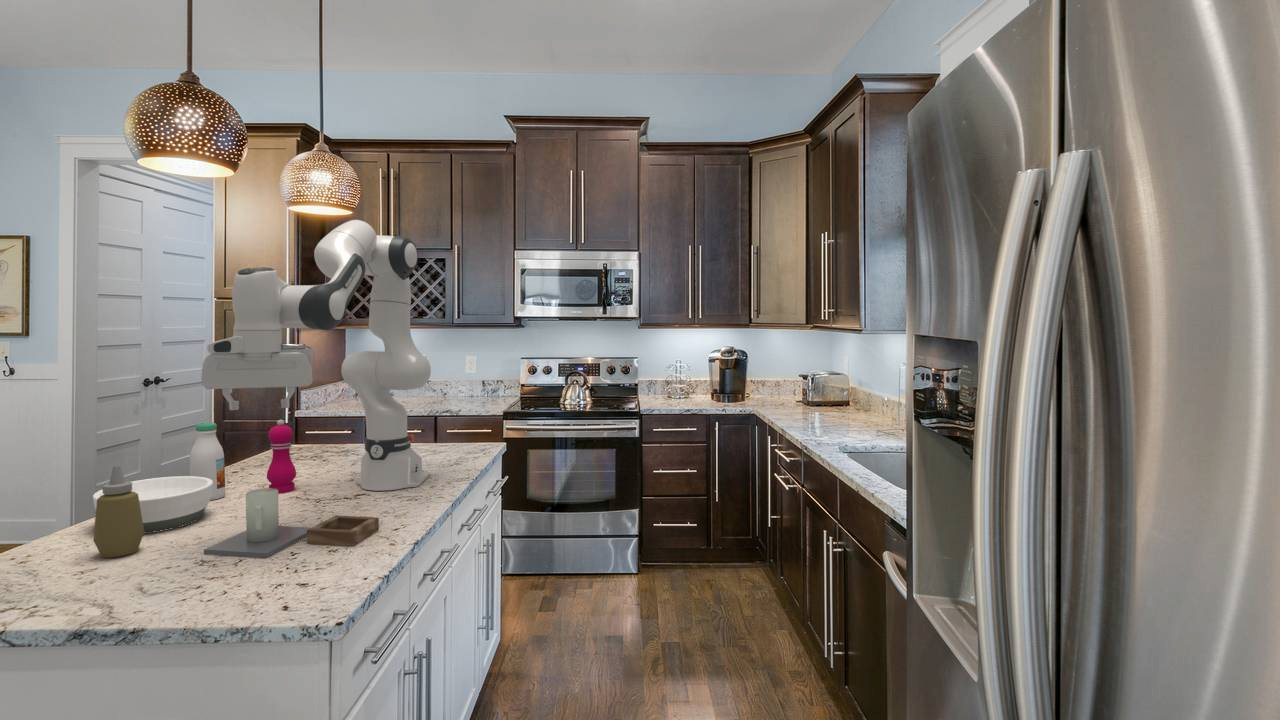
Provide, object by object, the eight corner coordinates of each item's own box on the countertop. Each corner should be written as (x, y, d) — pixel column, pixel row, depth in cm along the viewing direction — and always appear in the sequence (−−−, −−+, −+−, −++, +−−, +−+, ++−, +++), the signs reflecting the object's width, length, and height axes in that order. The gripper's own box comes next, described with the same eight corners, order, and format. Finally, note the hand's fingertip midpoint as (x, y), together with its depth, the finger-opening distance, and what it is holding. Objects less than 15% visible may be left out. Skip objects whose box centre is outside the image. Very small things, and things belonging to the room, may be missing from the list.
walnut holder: (336, 528, 147) (335, 515, 147) (378, 530, 146) (378, 517, 146) (307, 543, 137) (306, 530, 137) (352, 546, 136) (352, 532, 136)
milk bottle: (208, 502, 166) (205, 426, 165) (183, 500, 168) (180, 425, 166) (232, 495, 174) (230, 422, 172) (208, 493, 175) (206, 421, 174)
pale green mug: (249, 535, 139) (248, 489, 138) (280, 531, 141) (279, 487, 141) (242, 547, 131) (240, 499, 131) (275, 544, 133) (274, 497, 133)
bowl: (71, 542, 136) (70, 504, 136) (123, 511, 158) (122, 478, 157) (193, 533, 143) (192, 497, 142) (227, 505, 164) (226, 473, 164)
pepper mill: (287, 494, 175) (285, 421, 174) (261, 493, 175) (259, 421, 174) (301, 487, 182) (300, 417, 181) (276, 486, 182) (275, 417, 181)
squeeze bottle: (102, 549, 132) (99, 463, 131) (150, 544, 136) (147, 460, 134) (87, 563, 125) (83, 472, 124) (137, 557, 128) (134, 469, 127)
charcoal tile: (259, 528, 146) (259, 524, 146) (316, 532, 144) (316, 527, 144) (203, 554, 130) (203, 549, 130) (266, 558, 129) (266, 553, 129)
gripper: (314, 343, 142) (315, 404, 143) (205, 343, 134) (207, 408, 135) (312, 344, 136) (313, 408, 137) (198, 344, 128) (200, 413, 129)
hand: (260, 408), depth 136 cm, fingers open, 8 cm apart
